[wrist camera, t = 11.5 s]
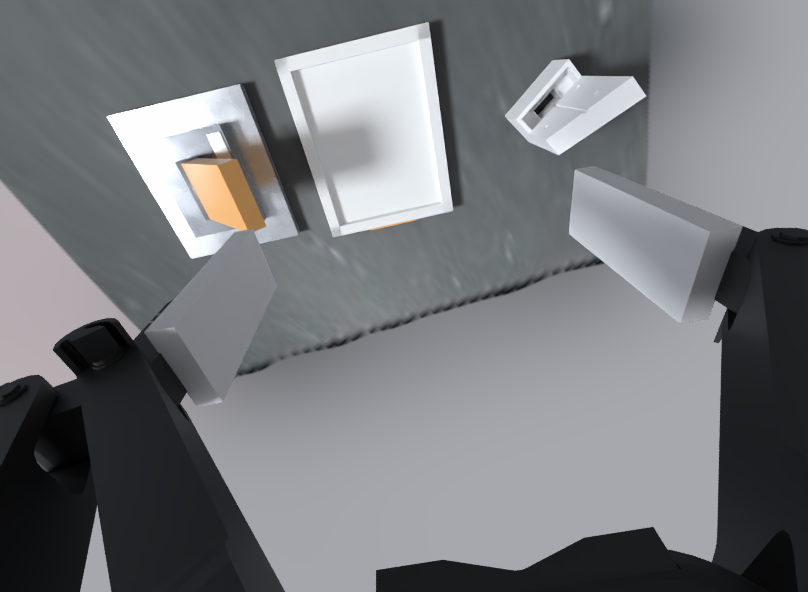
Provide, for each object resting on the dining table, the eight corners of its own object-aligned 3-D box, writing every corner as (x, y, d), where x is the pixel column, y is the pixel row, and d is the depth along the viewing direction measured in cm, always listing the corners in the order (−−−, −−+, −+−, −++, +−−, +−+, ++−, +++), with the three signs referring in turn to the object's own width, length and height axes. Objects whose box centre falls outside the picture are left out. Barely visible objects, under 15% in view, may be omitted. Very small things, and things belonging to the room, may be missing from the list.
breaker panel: (114, 115, 31) (95, 118, 29) (243, 83, 31) (233, 84, 29) (195, 254, 39) (185, 265, 37) (300, 231, 38) (296, 240, 36)
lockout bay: (277, 60, 30) (273, 60, 29) (426, 23, 29) (428, 22, 28) (334, 234, 39) (333, 238, 38) (451, 208, 38) (453, 212, 37)
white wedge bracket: (633, 44, 29) (646, 96, 24) (530, 126, 37) (524, 178, 32) (609, 8, 28) (618, 55, 23) (507, 100, 35) (497, 151, 30)
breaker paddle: (172, 162, 30) (213, 164, 23) (193, 156, 31) (238, 156, 24) (202, 219, 33) (247, 236, 26) (221, 211, 34) (269, 226, 27)
